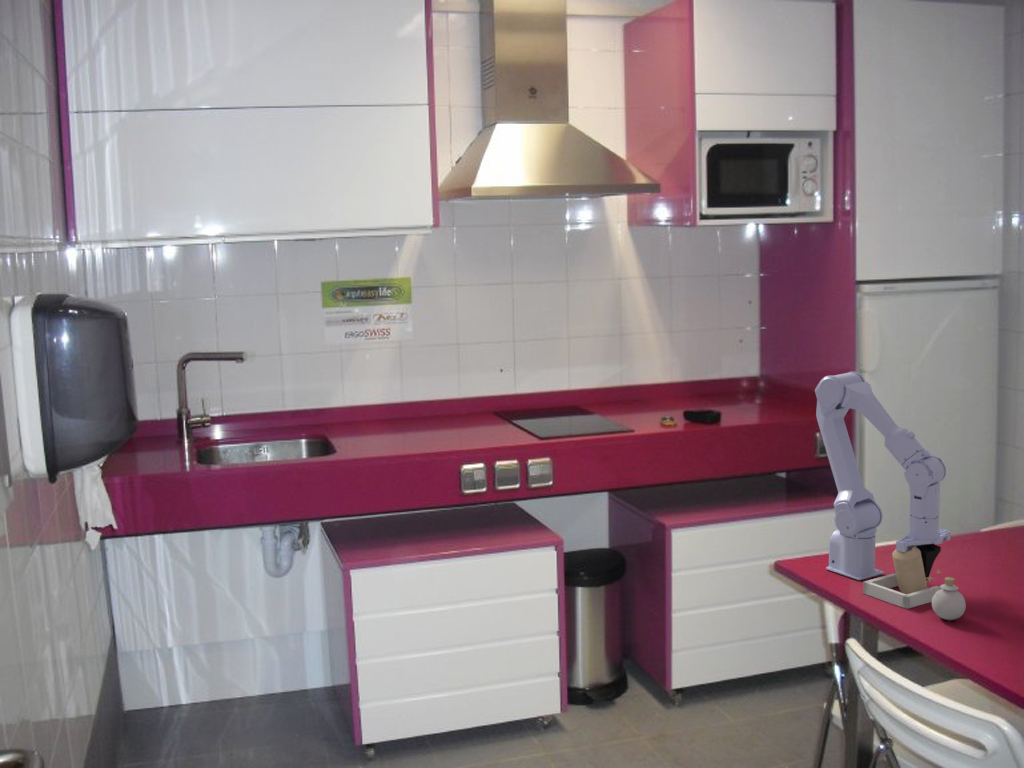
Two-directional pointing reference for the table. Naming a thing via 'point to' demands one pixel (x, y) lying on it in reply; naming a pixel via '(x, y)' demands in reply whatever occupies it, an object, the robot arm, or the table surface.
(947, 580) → the round potion bottle
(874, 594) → the box
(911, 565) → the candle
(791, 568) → the table surface
